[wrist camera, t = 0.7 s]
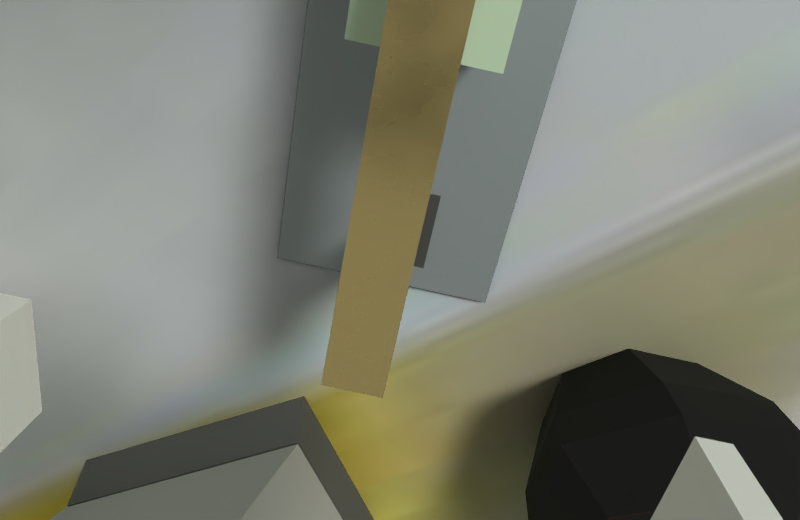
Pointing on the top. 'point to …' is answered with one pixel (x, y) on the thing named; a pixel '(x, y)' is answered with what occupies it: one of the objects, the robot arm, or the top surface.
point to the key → (394, 185)
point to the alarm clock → (224, 474)
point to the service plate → (459, 156)
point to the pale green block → (484, 38)
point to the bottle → (651, 438)
